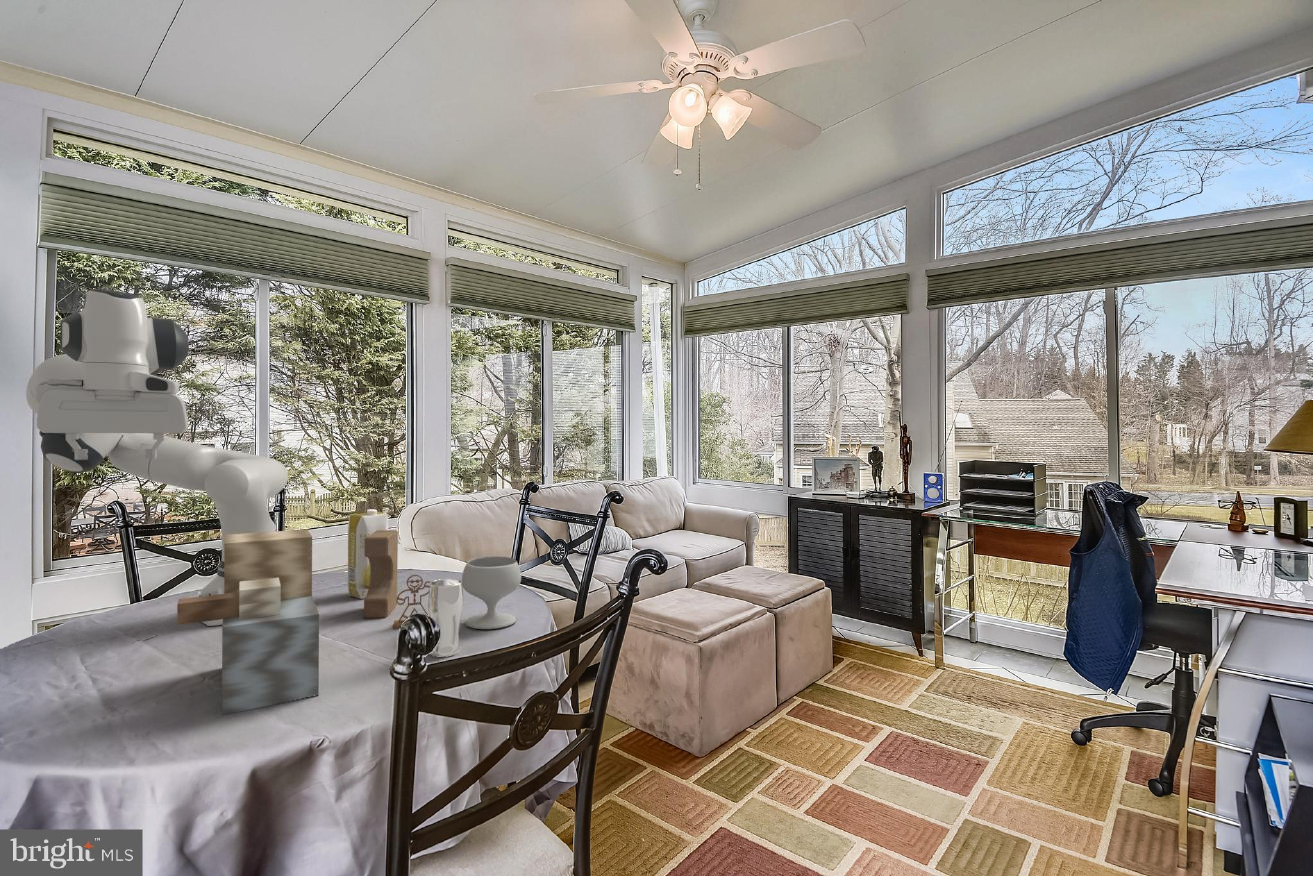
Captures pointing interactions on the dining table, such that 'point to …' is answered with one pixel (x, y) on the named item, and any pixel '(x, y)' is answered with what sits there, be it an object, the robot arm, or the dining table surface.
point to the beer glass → (446, 613)
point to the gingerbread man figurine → (399, 622)
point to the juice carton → (361, 549)
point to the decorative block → (381, 573)
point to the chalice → (491, 588)
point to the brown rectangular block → (233, 603)
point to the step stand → (270, 623)
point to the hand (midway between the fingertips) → (116, 459)
